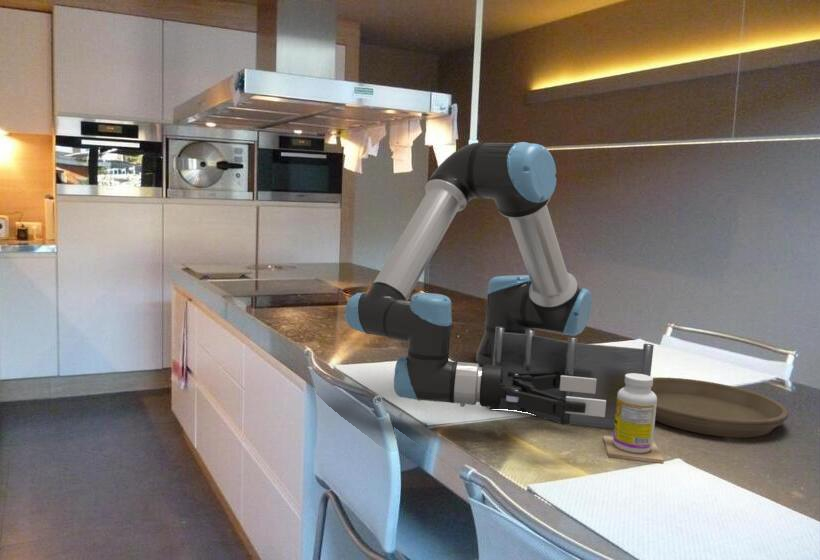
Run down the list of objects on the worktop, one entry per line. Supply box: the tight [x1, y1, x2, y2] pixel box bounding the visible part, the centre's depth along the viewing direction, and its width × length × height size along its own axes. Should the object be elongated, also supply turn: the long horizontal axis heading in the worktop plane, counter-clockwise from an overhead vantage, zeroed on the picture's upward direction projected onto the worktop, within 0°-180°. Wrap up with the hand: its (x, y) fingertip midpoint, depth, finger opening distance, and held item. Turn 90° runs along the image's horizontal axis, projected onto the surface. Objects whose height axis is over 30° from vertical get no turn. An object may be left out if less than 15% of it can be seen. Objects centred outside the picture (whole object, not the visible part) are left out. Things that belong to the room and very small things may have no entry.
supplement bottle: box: [612, 373, 657, 453], centre depth 119 cm, size 7×7×13 cm
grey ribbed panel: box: [489, 327, 654, 430], centre depth 134 cm, size 6×30×17 cm, turn 80°
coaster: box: [602, 435, 665, 464], centre depth 120 cm, size 9×9×1 cm
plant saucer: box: [651, 376, 789, 439], centre depth 143 cm, size 31×31×5 cm
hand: (600, 396), depth 120 cm, fingers open, 13 cm apart
